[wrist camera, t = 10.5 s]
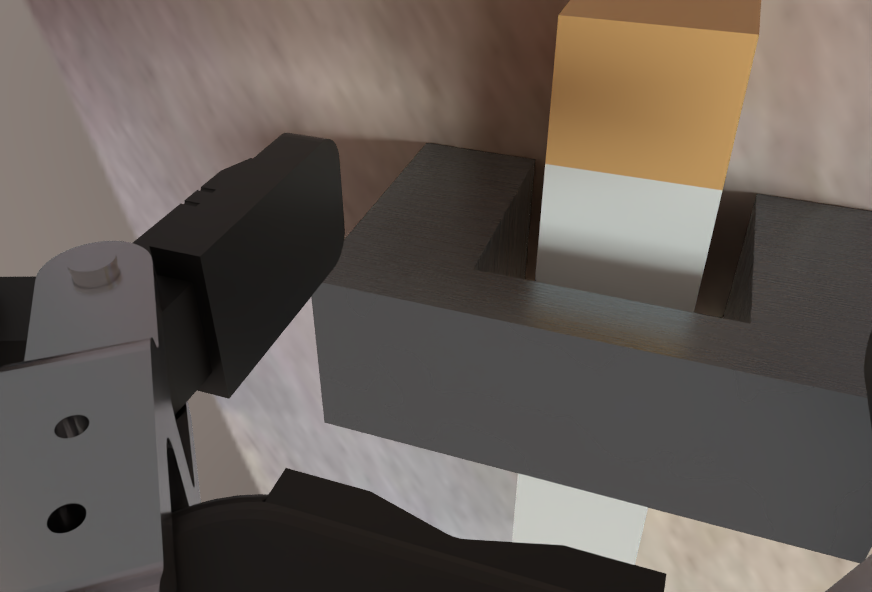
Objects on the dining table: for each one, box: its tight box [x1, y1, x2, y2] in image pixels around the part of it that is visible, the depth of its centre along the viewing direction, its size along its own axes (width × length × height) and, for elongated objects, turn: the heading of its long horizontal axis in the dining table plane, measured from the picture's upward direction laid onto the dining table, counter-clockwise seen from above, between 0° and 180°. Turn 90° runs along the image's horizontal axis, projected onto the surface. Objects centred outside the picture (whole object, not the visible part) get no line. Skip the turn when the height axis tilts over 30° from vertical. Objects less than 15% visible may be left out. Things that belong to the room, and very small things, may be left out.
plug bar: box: [512, 0, 761, 565], centre depth 20 cm, size 4×16×4 cm, turn 0°
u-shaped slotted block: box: [312, 143, 872, 563], centre depth 18 cm, size 12×4×7 cm, turn 90°
